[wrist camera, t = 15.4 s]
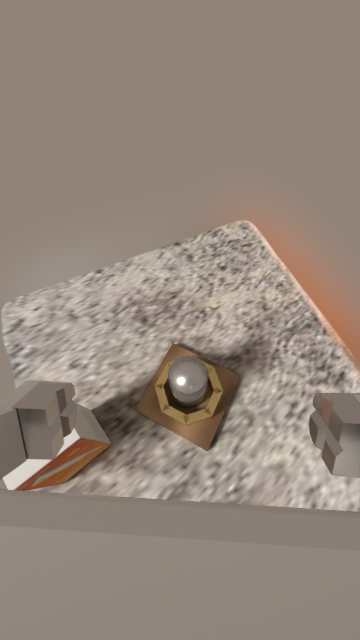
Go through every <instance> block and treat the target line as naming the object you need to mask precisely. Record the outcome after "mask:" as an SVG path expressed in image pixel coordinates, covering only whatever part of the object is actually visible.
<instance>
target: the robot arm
mask: <svg viewBox="0 0 360 640" xmlns="http://www.w3.org/2000/svg"><path fill="white" fill-rule="evenodd" d="M74 395H75V389H74V385H73V384H72V383H67V382H51V381H26V382H24V383H23V384H22V385H21V386H20V387H18V388H17V389H16V390H15V391H14V392H13V393H11V394H10V395H9V396H8V397H7V398H6V399H4V400H3V401H2V402H1V403H0V480H1V479H2V478H3V477H5V476H6V475H8V474H9V473H10V472H12V471H13V470H14V469H16V468H17V467H19V466H20V465H21V464H23V463H24V462H25V461H27V459H43V460H54V459H55V457H56V456H57V454H58V453H59V451H60V450H61V448H62V446H63V445H64V437H66V436H67V435H69V434H71V432H72V430H73V429H74V427H75V424H76V420H77V405H76V404H75V403H74V402H73V400H72V398H73V397H74ZM313 406H314V407H315V409H316V411H315V412H314V413H313V414H311V415H310V421H309V429H310V435H311V438H312V441H313V443H314V444H315V446H316V447H318V448H319V449H320V450H322V451H323V452H322V459H323V461H324V462H325V464H326V466H327V468H328V469H329V471H330V473H331V475H333V476H345V477H357V478H360V393H316V394H315V396H314V399H313ZM0 640H360V512H353V511H337V510H321V509H306V508H290V507H275V506H259V505H243V504H228V503H211V502H195V501H179V500H162V499H146V498H130V497H114V496H98V495H83V494H67V493H51V492H35V491H20V490H4V489H0Z"/></svg>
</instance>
